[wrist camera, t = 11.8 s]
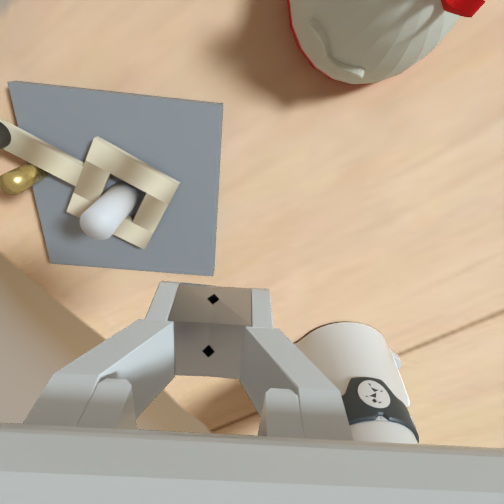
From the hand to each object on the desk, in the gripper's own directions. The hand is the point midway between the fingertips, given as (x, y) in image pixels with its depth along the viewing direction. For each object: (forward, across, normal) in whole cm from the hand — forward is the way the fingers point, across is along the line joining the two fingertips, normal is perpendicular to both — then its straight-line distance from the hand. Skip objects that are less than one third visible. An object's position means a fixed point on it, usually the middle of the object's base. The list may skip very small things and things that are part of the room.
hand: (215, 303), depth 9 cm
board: (+29, +12, +8) cm, 32 cm away
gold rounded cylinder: (+27, +21, +6) cm, 35 cm away
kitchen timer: (+29, -10, -12) cm, 33 cm away
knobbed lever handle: (+27, +16, +6) cm, 32 cm away
